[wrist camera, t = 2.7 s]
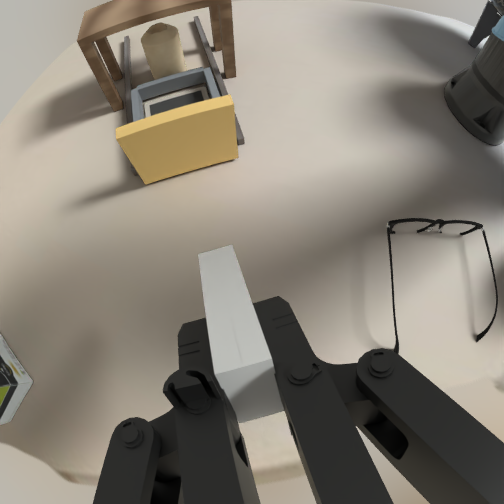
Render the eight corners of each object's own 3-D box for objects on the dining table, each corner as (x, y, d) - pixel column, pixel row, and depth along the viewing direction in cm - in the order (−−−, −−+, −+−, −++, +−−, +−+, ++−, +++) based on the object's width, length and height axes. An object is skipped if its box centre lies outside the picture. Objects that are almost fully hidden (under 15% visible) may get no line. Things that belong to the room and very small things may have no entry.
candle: (189, 79, 42) (179, 30, 33) (156, 89, 42) (139, 42, 32) (183, 60, 44) (173, 14, 34) (152, 70, 43) (137, 25, 34)
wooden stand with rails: (210, 18, 47) (202, -44, 33) (261, 139, 39) (264, 48, 24) (115, 45, 46) (92, -12, 31) (118, 180, 37) (64, 109, 23)
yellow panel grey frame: (210, 76, 42) (203, 26, 32) (238, 157, 37) (233, 104, 28) (135, 98, 41) (115, 52, 31) (145, 184, 36) (116, 139, 27)
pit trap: (205, 86, 42) (205, 85, 41) (223, 142, 39) (222, 142, 38) (144, 104, 41) (144, 103, 41) (152, 163, 38) (151, 162, 38)
